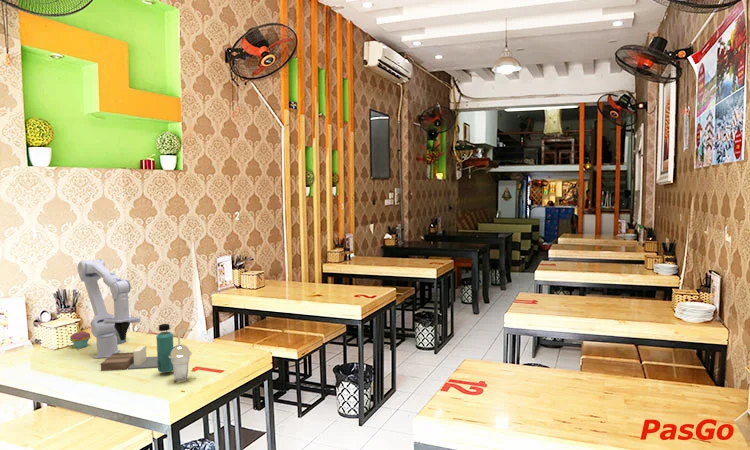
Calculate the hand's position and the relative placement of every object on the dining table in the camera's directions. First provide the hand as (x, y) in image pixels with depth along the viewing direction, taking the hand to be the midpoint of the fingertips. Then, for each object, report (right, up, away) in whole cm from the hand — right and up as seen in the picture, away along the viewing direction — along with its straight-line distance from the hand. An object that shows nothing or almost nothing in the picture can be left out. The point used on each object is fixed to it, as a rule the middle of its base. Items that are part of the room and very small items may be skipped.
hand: (123, 339), depth 227 cm
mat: (+12, -9, -3) cm, 16 cm away
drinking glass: (-17, -8, +30) cm, 35 cm away
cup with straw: (+34, -11, -25) cm, 44 cm away
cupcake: (-32, -9, +24) cm, 41 cm away
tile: (+9, -6, -4) cm, 11 cm away
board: (+1, -10, -4) cm, 11 cm away
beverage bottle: (+25, -10, -17) cm, 32 cm away
